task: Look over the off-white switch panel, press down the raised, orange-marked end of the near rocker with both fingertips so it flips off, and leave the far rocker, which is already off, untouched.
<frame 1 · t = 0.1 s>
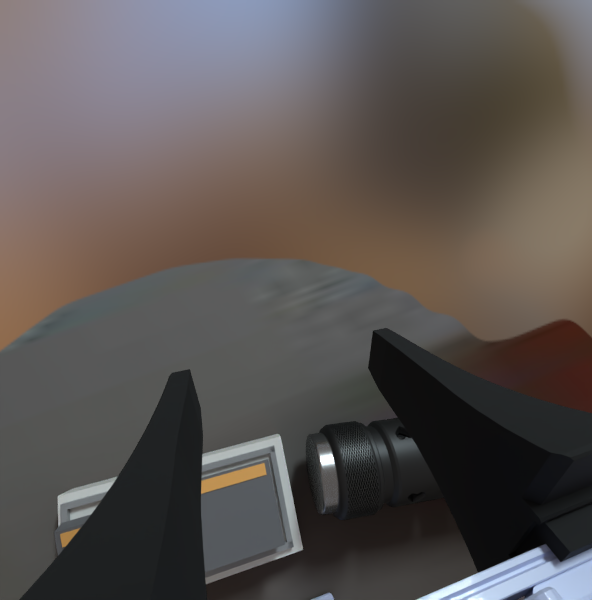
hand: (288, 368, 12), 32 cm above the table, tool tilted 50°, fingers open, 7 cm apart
switch panel: (188, 514, 37), on the table
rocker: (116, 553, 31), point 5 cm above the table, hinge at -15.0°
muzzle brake: (403, 448, 43), on the table
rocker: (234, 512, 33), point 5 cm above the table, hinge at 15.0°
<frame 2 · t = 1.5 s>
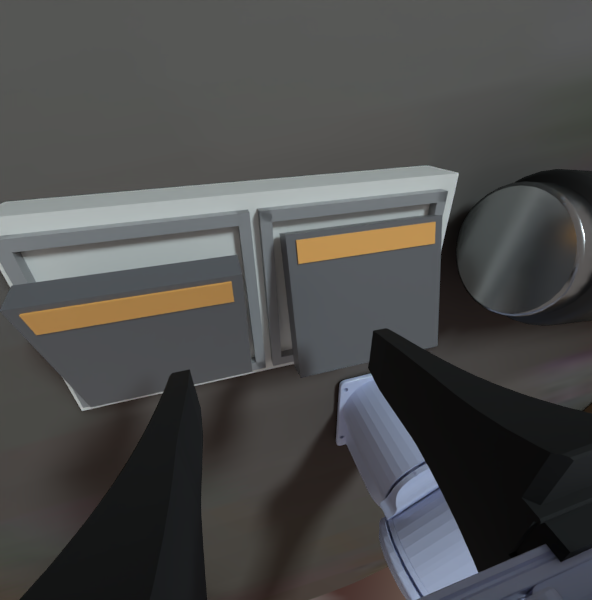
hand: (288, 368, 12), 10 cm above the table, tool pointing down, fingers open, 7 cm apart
switch panel: (256, 273, 21), on the table
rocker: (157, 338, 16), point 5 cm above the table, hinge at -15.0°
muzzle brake: (573, 223, 28), on the table
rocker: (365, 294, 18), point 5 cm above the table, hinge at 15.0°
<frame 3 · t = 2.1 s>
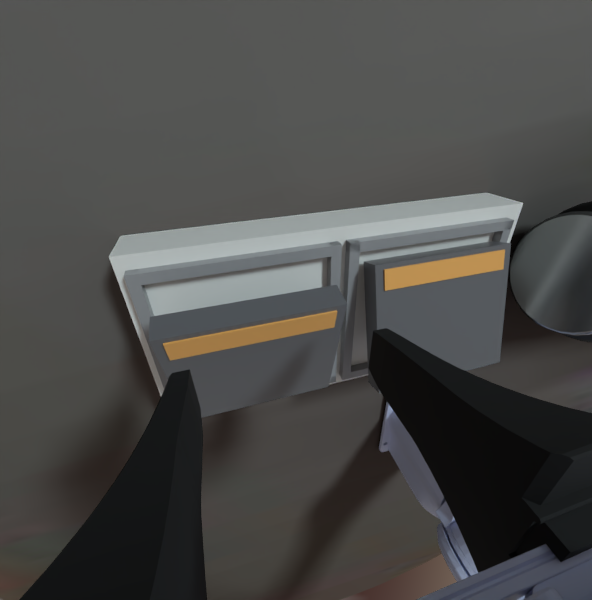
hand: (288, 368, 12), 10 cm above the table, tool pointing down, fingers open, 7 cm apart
switch panel: (325, 293, 23), on the table
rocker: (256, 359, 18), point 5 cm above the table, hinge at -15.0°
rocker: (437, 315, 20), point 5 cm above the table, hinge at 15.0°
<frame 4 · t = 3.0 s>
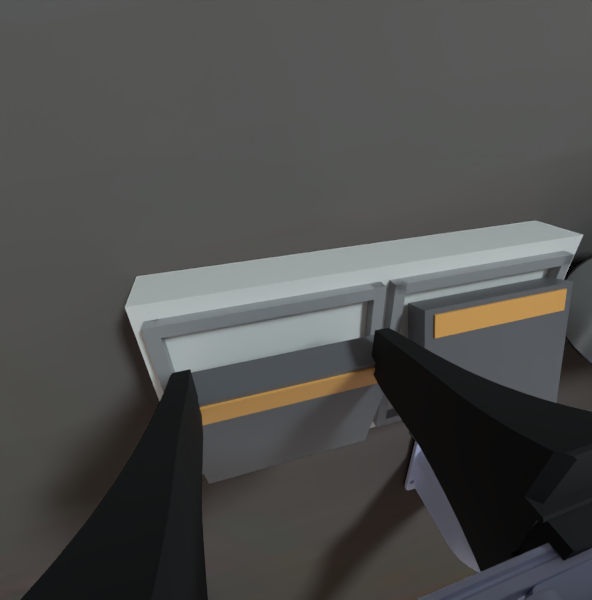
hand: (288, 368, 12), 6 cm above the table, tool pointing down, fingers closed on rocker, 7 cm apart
switch panel: (357, 330, 21), on the table
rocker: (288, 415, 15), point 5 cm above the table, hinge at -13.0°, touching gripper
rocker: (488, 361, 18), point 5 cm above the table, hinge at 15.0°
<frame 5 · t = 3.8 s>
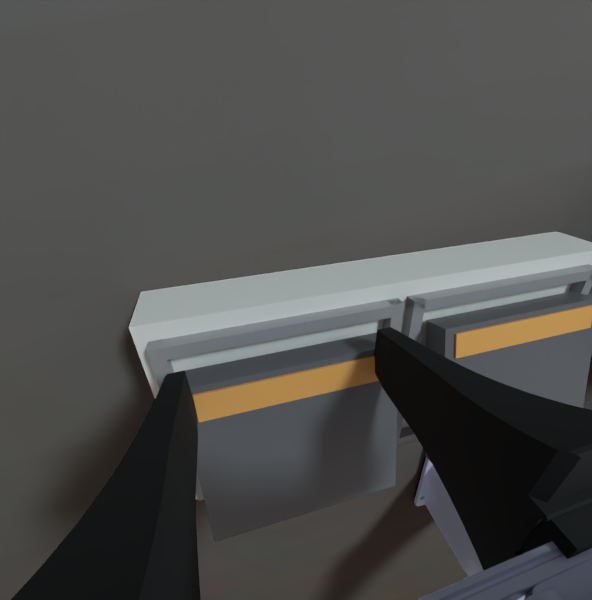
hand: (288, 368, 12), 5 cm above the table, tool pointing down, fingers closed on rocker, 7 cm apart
switch panel: (369, 345, 20), on the table
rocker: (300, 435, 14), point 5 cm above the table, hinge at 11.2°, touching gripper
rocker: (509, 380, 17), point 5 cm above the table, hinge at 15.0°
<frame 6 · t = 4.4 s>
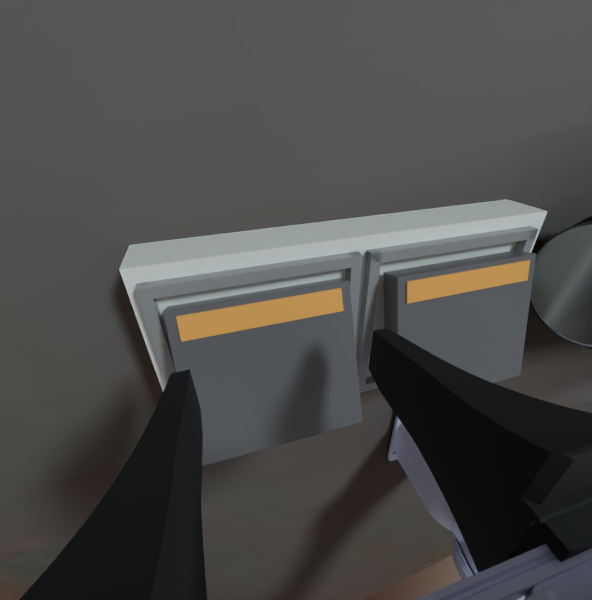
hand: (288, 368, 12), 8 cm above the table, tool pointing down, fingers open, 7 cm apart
switch panel: (340, 303, 22), on the table
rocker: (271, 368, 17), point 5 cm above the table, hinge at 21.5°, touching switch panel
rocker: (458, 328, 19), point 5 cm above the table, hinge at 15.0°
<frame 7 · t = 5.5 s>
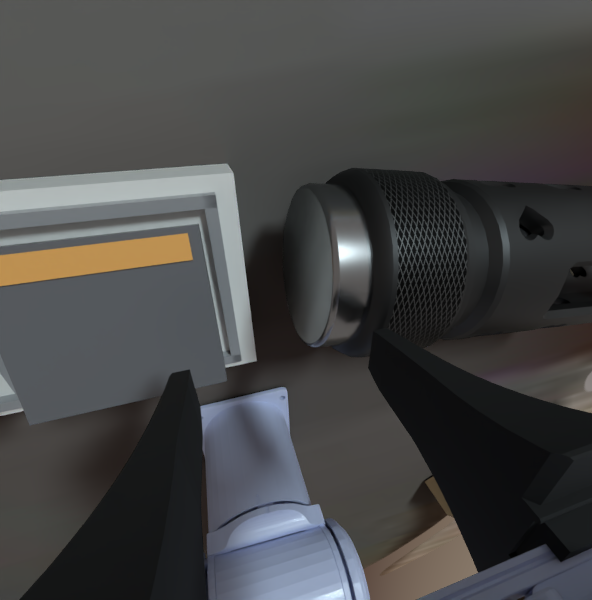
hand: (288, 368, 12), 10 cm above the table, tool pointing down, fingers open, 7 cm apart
switch panel: (29, 292, 18), on the table
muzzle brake: (451, 230, 25), on the table
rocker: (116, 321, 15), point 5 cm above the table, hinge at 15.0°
photo frame: (479, 453, 47), on the table
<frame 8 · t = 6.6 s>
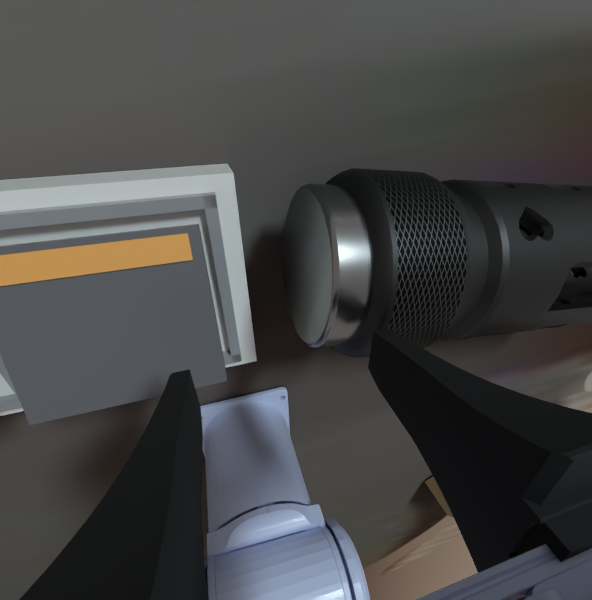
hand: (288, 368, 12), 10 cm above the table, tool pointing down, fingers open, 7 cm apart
switch panel: (29, 292, 18), on the table
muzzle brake: (451, 230, 25), on the table
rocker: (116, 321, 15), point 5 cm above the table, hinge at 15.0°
photo frame: (479, 453, 47), on the table
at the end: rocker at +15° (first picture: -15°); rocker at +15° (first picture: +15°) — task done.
